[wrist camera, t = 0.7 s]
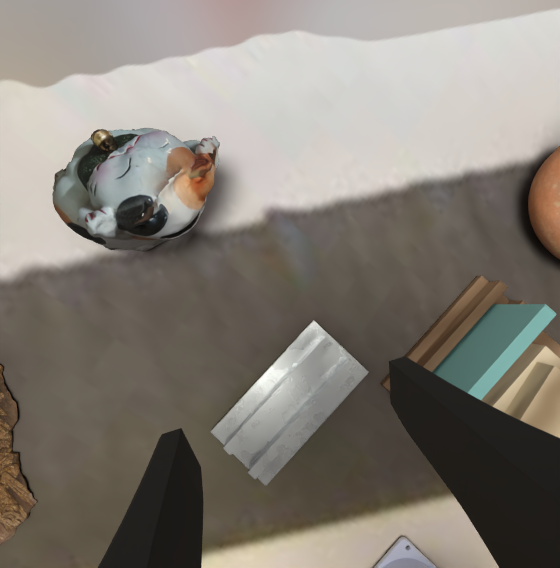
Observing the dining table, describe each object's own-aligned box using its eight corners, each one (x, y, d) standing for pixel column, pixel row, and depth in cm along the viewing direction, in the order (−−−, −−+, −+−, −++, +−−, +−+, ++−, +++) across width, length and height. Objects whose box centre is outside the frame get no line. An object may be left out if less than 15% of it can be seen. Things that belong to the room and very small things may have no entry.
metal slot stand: (366, 370, 34) (373, 375, 31) (266, 481, 33) (264, 496, 30) (312, 320, 34) (315, 321, 32) (212, 428, 33) (206, 439, 31)
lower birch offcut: (573, 382, 33) (592, 387, 31) (499, 467, 32) (513, 478, 30) (529, 343, 33) (545, 345, 31) (455, 427, 33) (467, 435, 31)
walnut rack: (588, 376, 34) (614, 382, 31) (492, 488, 33) (510, 503, 30) (476, 276, 34) (492, 273, 32) (380, 383, 34) (388, 389, 31)
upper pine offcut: (571, 385, 31) (591, 391, 29) (522, 461, 30) (539, 472, 28) (537, 362, 31) (554, 365, 29) (488, 437, 31) (502, 446, 29)
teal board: (494, 311, 33) (556, 314, 26) (420, 394, 33) (462, 421, 25) (486, 304, 33) (545, 304, 26) (412, 386, 33) (451, 411, 25)
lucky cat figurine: (158, 115, 36) (179, 41, 23) (218, 206, 40) (264, 184, 27) (29, 180, 31) (-29, 130, 19) (113, 276, 35) (111, 288, 23)
